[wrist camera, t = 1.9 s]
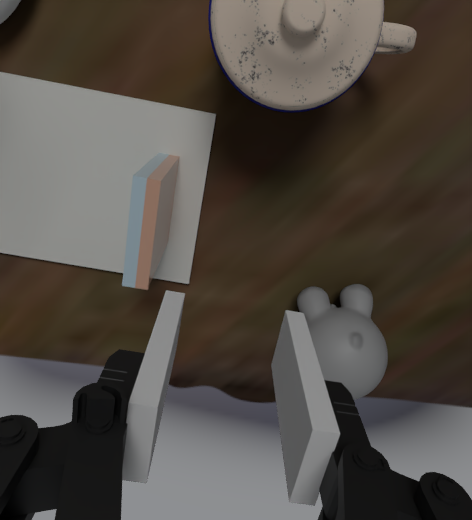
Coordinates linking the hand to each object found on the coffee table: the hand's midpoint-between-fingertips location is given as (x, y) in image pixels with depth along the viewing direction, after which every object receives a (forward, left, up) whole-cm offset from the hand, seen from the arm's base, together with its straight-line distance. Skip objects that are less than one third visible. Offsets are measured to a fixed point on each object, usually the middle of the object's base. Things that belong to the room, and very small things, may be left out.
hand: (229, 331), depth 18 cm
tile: (+5, 0, -18) cm, 19 cm away
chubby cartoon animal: (-11, +10, -19) cm, 24 cm away
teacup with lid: (-3, -13, -19) cm, 23 cm away
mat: (+11, 0, -19) cm, 22 cm away
